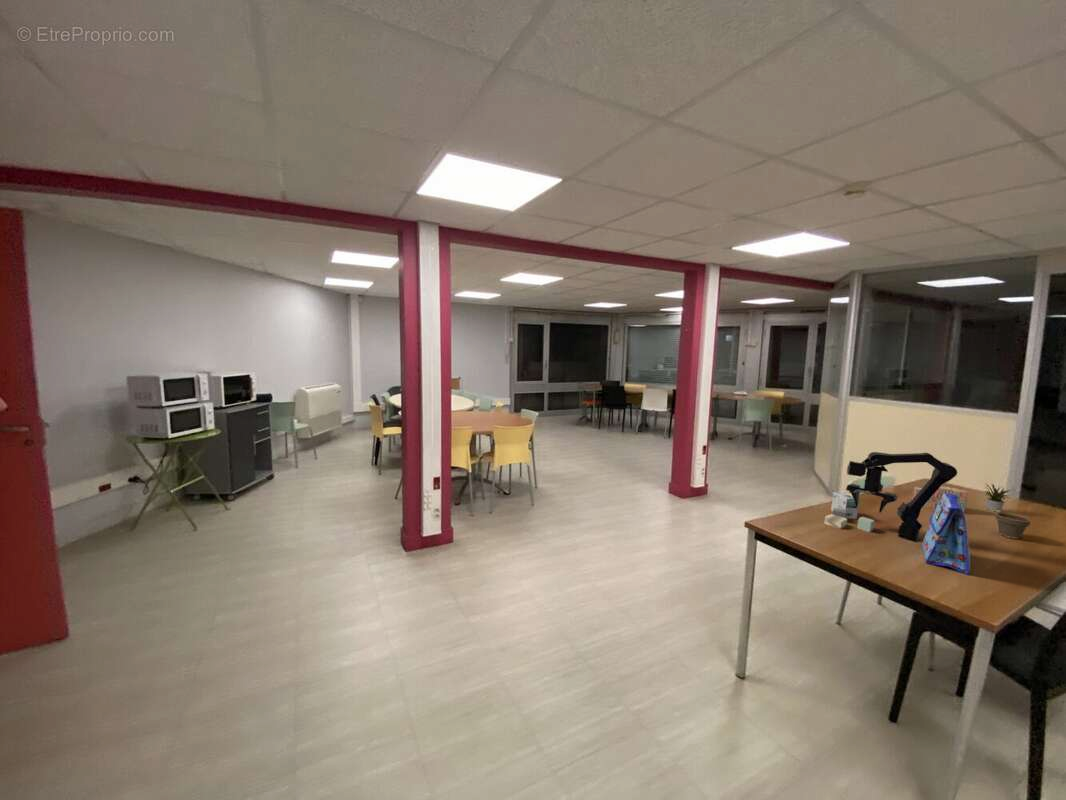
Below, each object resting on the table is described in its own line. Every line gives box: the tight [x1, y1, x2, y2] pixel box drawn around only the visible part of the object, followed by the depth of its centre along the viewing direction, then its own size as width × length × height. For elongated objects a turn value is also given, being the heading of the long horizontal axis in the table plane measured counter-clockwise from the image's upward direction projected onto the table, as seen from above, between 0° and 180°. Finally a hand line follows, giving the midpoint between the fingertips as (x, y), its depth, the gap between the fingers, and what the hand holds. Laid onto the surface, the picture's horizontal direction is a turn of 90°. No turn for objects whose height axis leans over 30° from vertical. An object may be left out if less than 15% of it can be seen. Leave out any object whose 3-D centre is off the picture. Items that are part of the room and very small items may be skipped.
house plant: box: [983, 482, 1017, 511], centre depth 244 cm, size 14×14×16 cm
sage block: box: [856, 516, 875, 533], centre depth 208 cm, size 5×5×5 cm
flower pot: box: [994, 512, 1031, 539], centre depth 208 cm, size 12×11×10 cm
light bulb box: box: [830, 491, 860, 520], centre depth 225 cm, size 11×7×11 cm, turn 179°
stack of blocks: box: [911, 485, 969, 513], centre depth 244 cm, size 21×6×12 cm, turn 57°
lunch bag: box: [921, 493, 971, 575], centre depth 178 cm, size 22×14×29 cm, turn 141°
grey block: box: [832, 508, 846, 518], centre depth 219 cm, size 5×5×5 cm
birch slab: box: [824, 513, 848, 530], centre depth 211 cm, size 7×7×4 cm
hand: (868, 509), depth 207 cm, fingers open, 9 cm apart
